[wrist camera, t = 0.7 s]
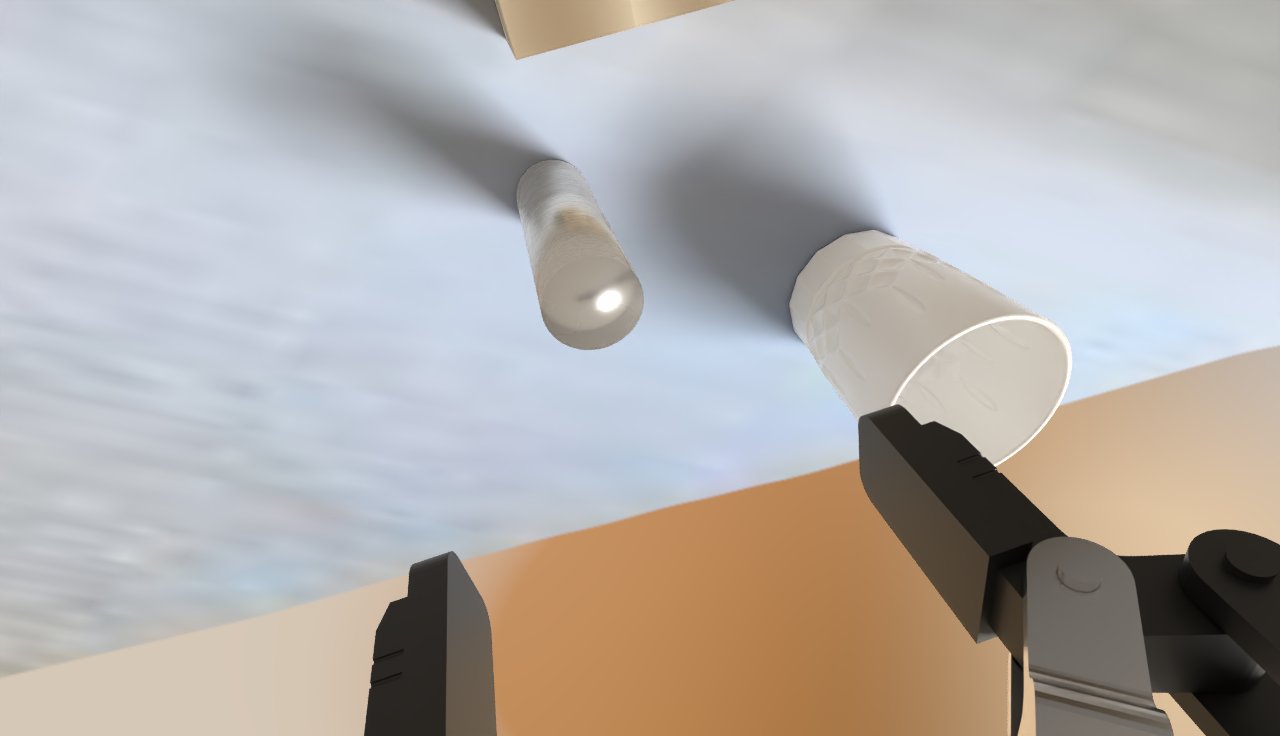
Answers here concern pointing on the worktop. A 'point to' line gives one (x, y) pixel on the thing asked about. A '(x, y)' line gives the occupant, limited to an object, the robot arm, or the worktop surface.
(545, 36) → the wooden peg hole block
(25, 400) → the worktop surface
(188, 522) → the worktop surface
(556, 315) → the steel pin
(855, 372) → the white cup
